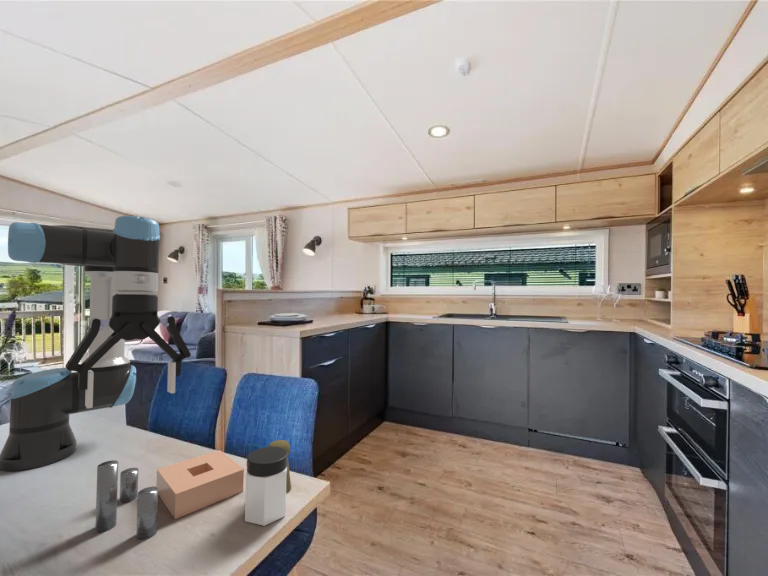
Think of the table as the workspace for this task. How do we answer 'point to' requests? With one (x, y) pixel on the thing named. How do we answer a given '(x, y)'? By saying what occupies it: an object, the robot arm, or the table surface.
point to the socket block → (199, 482)
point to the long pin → (106, 496)
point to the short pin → (128, 485)
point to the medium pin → (147, 513)
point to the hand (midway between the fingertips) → (132, 399)
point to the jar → (266, 485)
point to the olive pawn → (286, 446)
